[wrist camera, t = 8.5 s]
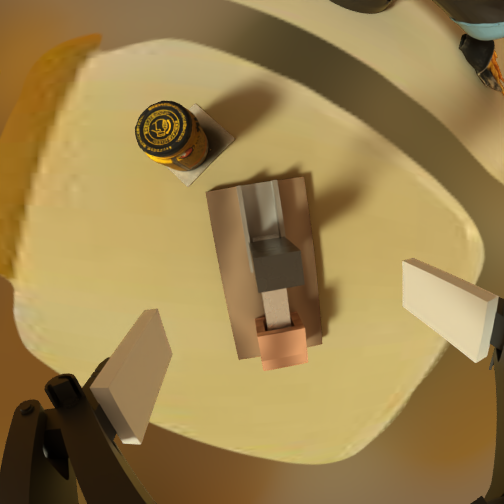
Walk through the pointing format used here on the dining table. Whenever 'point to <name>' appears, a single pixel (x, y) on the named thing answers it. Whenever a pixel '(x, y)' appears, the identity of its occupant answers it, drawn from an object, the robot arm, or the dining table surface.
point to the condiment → (181, 138)
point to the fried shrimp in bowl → (483, 60)
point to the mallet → (276, 276)
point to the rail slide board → (242, 276)
